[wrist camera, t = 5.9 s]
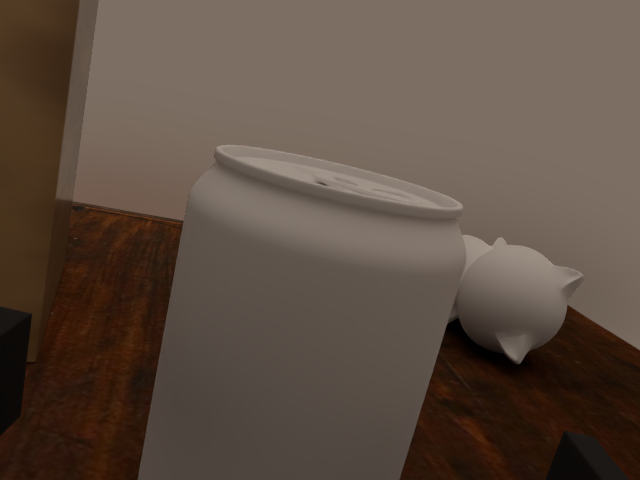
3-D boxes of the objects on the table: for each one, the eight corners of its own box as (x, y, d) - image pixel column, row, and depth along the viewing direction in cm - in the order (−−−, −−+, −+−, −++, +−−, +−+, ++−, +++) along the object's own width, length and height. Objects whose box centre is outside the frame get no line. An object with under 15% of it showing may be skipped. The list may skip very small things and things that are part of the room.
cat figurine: (444, 195, 44) (571, 235, 34) (500, 268, 49) (623, 320, 39) (377, 278, 43) (487, 344, 33) (442, 342, 48) (552, 415, 38)
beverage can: (201, 421, 23) (258, 141, 20) (386, 490, 21) (475, 197, 18) (71, 564, 15) (135, 139, 12) (348, 689, 13) (491, 234, 11)
